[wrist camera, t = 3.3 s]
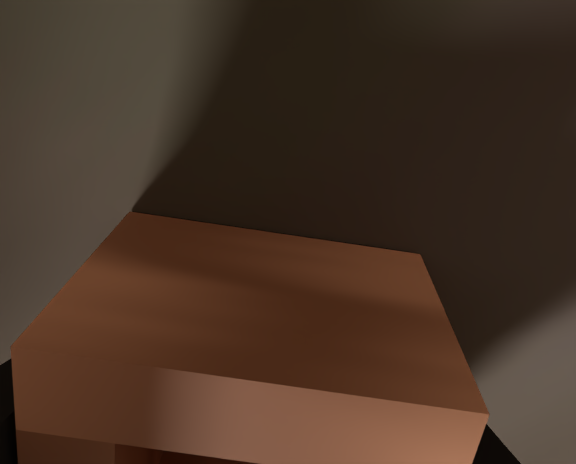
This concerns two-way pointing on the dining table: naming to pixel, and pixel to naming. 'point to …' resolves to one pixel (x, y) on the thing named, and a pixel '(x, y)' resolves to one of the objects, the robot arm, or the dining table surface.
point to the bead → (243, 355)
